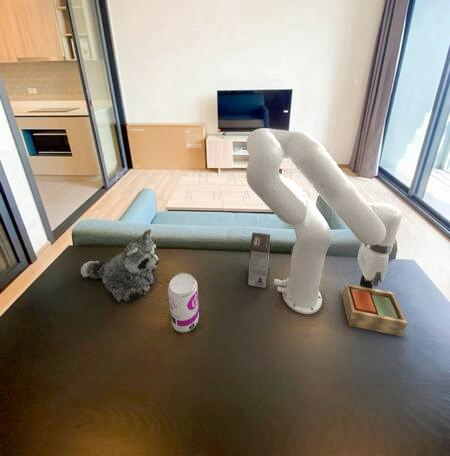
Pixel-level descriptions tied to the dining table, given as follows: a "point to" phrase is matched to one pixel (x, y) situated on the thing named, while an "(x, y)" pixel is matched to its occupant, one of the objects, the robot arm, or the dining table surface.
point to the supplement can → (183, 302)
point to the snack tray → (373, 310)
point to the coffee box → (258, 259)
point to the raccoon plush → (127, 269)
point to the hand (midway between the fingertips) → (365, 287)
